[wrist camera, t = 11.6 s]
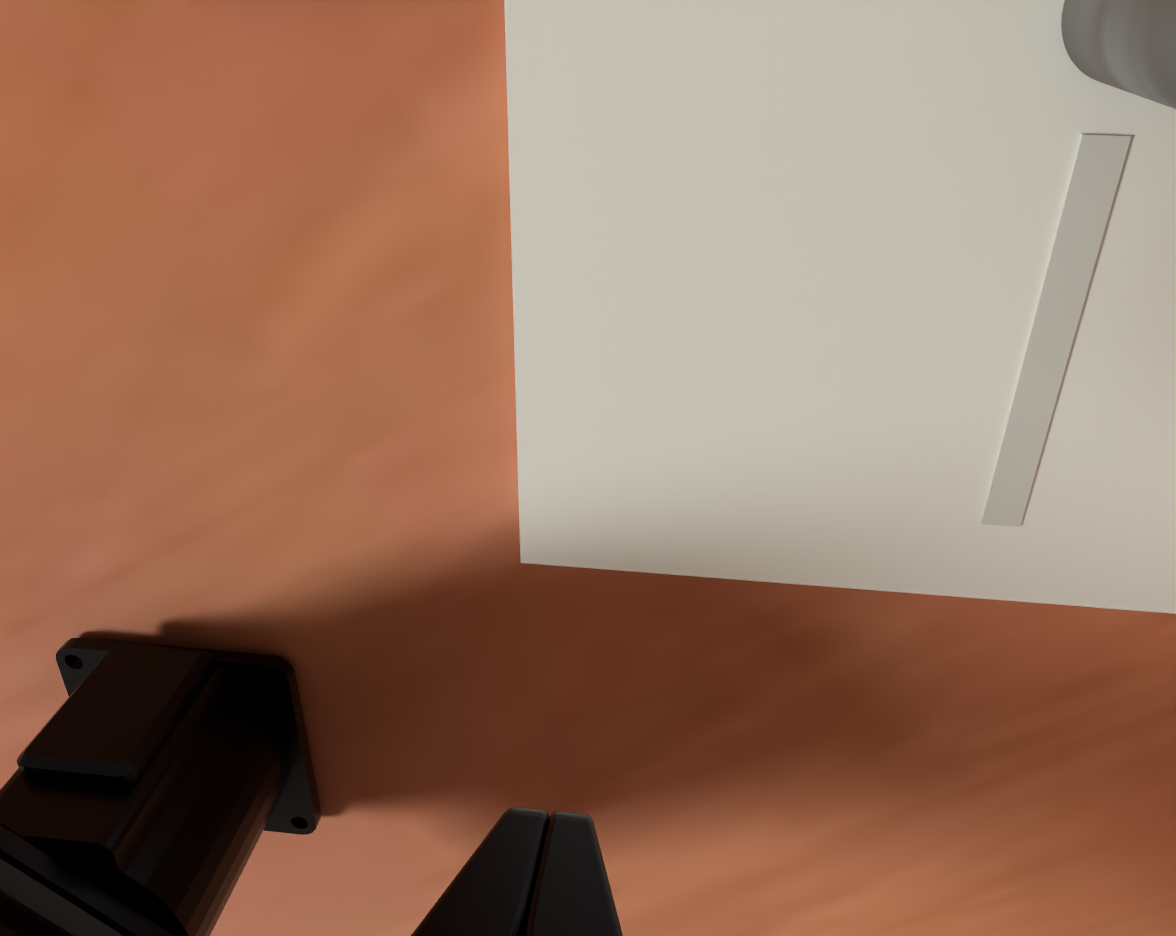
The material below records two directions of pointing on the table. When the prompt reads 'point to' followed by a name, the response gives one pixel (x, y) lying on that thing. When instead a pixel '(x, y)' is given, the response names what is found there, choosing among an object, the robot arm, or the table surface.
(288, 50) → the table surface
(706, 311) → the card
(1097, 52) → the fence section
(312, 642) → the table surface
